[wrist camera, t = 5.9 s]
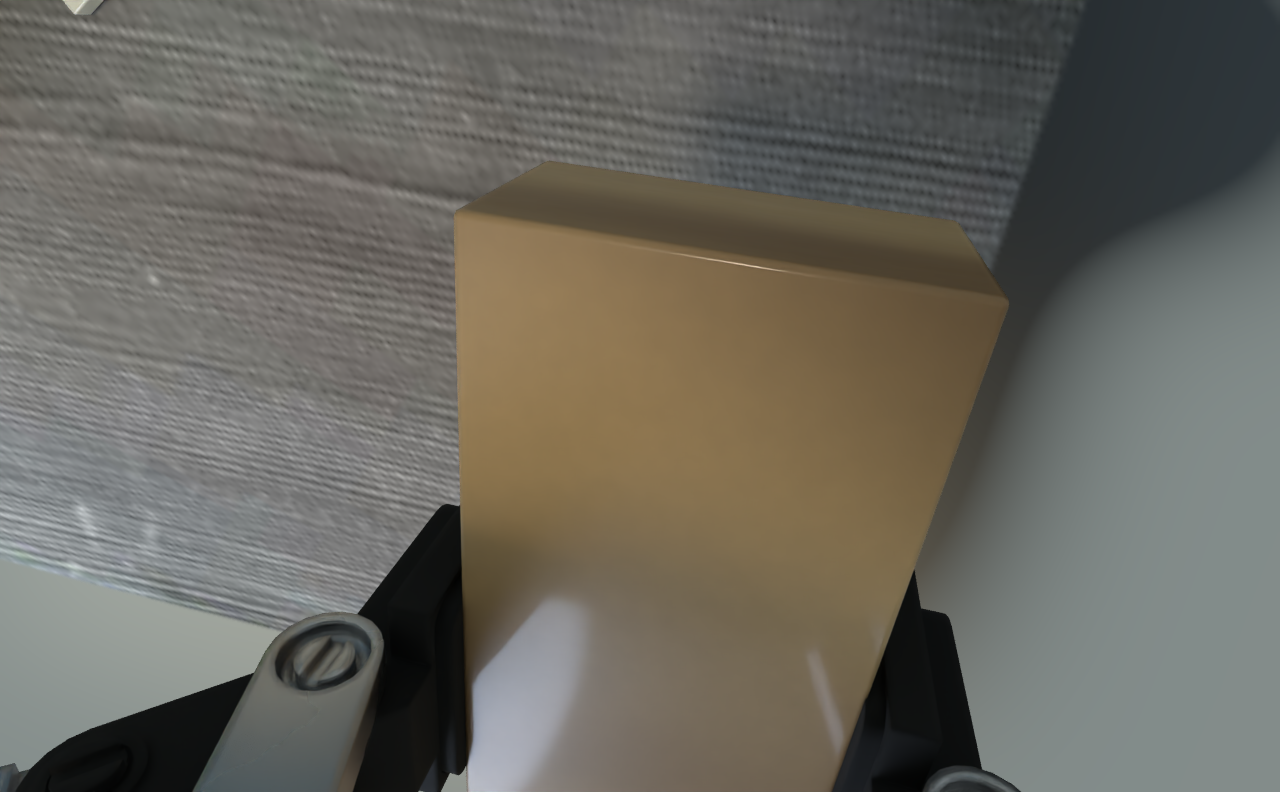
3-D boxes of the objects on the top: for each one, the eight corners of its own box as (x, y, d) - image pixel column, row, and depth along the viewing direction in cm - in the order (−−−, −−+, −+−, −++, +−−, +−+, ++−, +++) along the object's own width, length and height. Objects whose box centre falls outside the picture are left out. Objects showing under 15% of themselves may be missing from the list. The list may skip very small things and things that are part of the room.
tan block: (581, 138, 10) (450, 208, 6) (941, 190, 9) (1014, 300, 6) (547, 734, 15) (468, 942, 12) (766, 791, 15) (749, 1030, 11)
